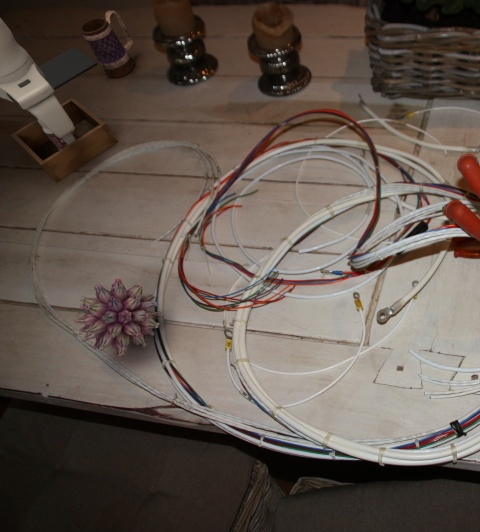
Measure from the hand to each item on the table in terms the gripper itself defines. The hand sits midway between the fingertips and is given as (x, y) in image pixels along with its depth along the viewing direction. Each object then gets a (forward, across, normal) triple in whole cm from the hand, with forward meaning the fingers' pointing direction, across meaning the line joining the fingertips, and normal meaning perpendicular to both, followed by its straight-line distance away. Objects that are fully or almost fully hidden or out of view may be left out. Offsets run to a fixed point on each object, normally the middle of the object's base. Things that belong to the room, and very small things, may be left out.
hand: (61, 133), depth 113 cm
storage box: (+4, 0, 0) cm, 4 cm away
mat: (+4, -29, +13) cm, 32 cm away
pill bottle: (+4, 0, 0) cm, 4 cm away
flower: (+4, +52, -15) cm, 54 cm away
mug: (+4, -16, +23) cm, 28 cm away
